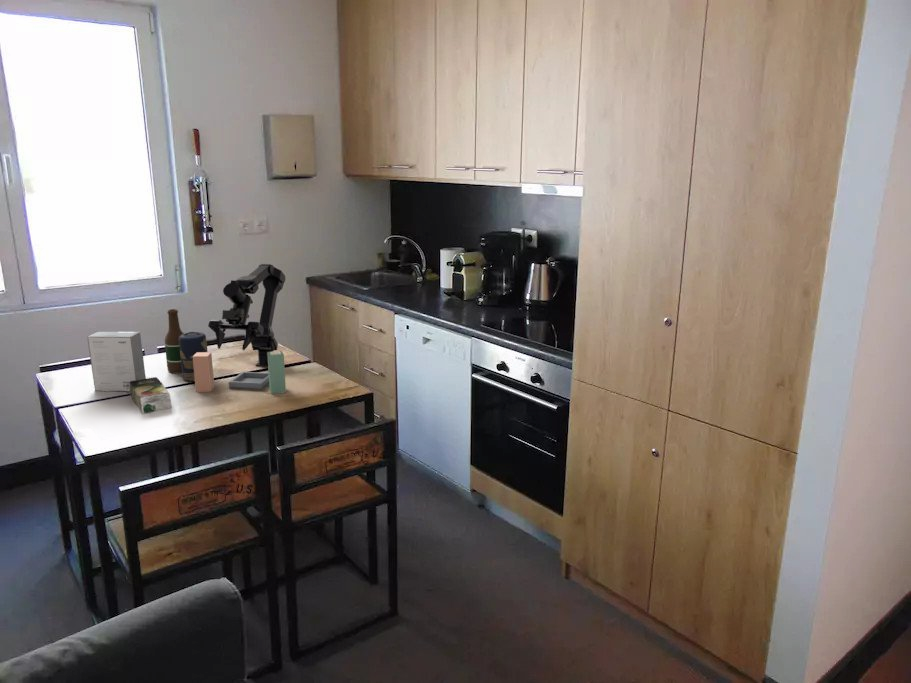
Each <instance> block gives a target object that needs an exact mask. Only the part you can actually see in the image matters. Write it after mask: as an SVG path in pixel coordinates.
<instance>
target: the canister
mask: <svg viewBox="0 0 911 683" xmlns="http://www.w3.org/2000/svg"><path fill="white" fill-rule="evenodd" d="M207 341H208V340H207V335H206V334H205V333H204V332H200V331H189V332H185V333H184V334H182V335H180V336H179V346H180V356H181V366H182V373H181V374H182V378H183V380H185V381H189V382H195V377H194V366H193V356H194V355H195V354H196V353H197V352H209V351H208V344H207V343H208V342H207Z"/></svg>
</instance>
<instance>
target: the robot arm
mask: <svg viewBox="0 0 911 683" xmlns="http://www.w3.org/2000/svg"><path fill="white" fill-rule="evenodd" d="M285 282H286V275H285V273H283V270H281V269H279V268H277V267H275V266H274V265H273V264H271V263H260V264H259V265H258V267H257V268H256V269H254V270H253V271H252V272H250V273H249V274H248V275H244V276H240V277H238V278H237V279H236V280H235V279H234V280H233V279H231V280H230V282H229V283H227V284H226V285H225V286H224V287H223V292H222V293H223V295H224V296H225V297H226V298H227V299H228V300H229V301H230V303H232V304H233V305H232V307H231V308H230V309H229V310H226V309H223V310H222V317H221V319H222V320H225V322H227V323H224V322H223V321H222V320H220V319H211V320H209V322H208V325H207V327H208V328H210V330H211V331H213V332H214V333H215V337H216V344H217V349H218V350H220V349H221V348H222V345H223V343H224V340H225V339H224V338H225V336H226V333H225V332H226V330H234V331H235V330H236V331H245V337H244V339H243V343H242V348H241V349H242V351H245V350H246V349H247V348H248V347H249V345H250V344H251V348H252V351H257V357H258V362H256V364H255V367H268V356H267V352H274V351H278V348H279V345H278V344H279V343H278V341H277V340H276V338H275V333H274V331H273V328H272V325H273V320H274V314H275V308H276V305H277V304H276V302H277V298H278V294H279V293H280V292H281V290H283V287H284V284H285ZM261 283H262V285H263V288H264V296H263V302H262V307H261V312H260V316H259V322H258V321H248V322H247V319H249V318H250V314H249V311H250V307H251V305H252V304H253V299H252V297H251V296H250V295H255V294H256V293H257V291H258V290H259V285H260V284H261Z"/></svg>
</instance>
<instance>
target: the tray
mask: <svg viewBox="0 0 911 683" xmlns="http://www.w3.org/2000/svg"><path fill="white" fill-rule="evenodd" d="M267 386H269V372H259V371H258V372H257V371H256V372H254V371H253V372H252V371H241V372H240V373H239V374H237V375H236V376H234V377H233V378H232V379H230V380H229V381H228V389H233V390H248V391H263V389H265V388H266V387H267Z"/></svg>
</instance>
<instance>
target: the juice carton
mask: <svg viewBox="0 0 911 683" xmlns="http://www.w3.org/2000/svg"><path fill="white" fill-rule="evenodd" d="M167 389H168V388H166V387H165V386H164V384H163V383H162V381H160V379H159V378H158V376H157V377H156V376H155V377H149V378H146V379H142V380H136V381H130V391H129V392H130V397H131V399H132V400H133V402H134V403H135V405H136V406H137V407H138V408H139V410H140V413H142V414H145V413H147V412H150V411H153V412H154V411H156V412H157V411H160V410H161V411H163V410H165V409H166V410H167V409H172V401H171V394H170V392H169V391H168V390H167Z"/></svg>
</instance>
